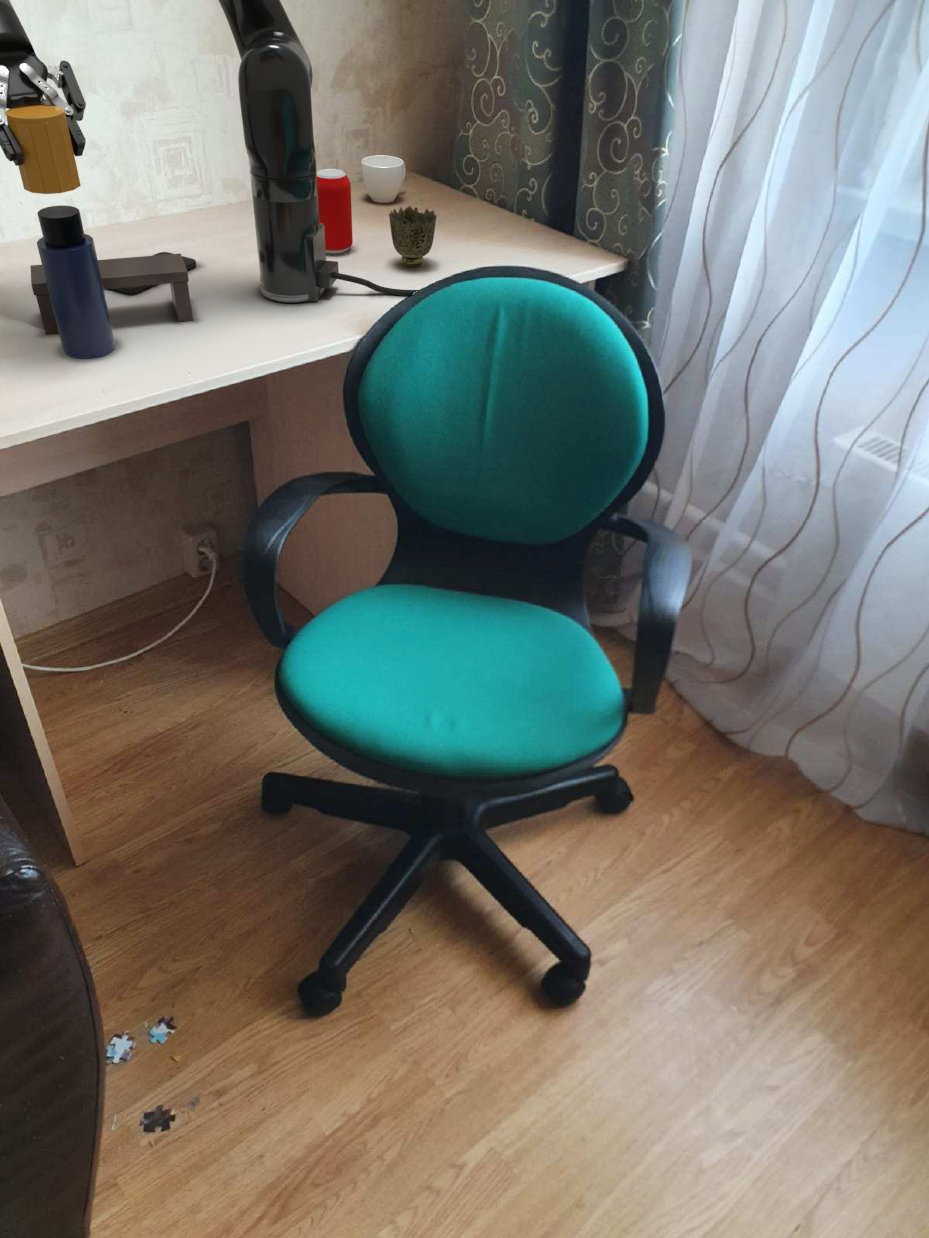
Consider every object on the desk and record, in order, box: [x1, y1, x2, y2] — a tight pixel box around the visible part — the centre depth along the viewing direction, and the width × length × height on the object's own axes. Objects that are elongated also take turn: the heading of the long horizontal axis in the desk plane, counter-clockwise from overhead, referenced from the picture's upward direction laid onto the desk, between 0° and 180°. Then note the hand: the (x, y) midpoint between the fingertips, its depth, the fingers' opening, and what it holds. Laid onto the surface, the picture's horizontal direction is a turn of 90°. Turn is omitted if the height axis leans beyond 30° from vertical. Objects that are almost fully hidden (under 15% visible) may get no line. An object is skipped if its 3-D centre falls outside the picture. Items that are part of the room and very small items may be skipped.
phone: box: [112, 251, 197, 294], centre depth 146 cm, size 7×1×15 cm
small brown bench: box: [30, 253, 194, 336], centre depth 132 cm, size 20×7×7 cm, turn 110°
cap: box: [5, 105, 81, 195], centre depth 111 cm, size 6×6×8 cm
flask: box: [36, 205, 116, 360], centre depth 121 cm, size 7×7×18 cm
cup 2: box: [388, 205, 437, 268], centre depth 152 cm, size 8×7×8 cm
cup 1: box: [360, 154, 407, 204], centre depth 177 cm, size 8×10×7 cm
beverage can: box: [317, 168, 354, 255], centre depth 154 cm, size 6×6×12 cm
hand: (50, 156), depth 110 cm, fingers closed on cap, 6 cm apart
